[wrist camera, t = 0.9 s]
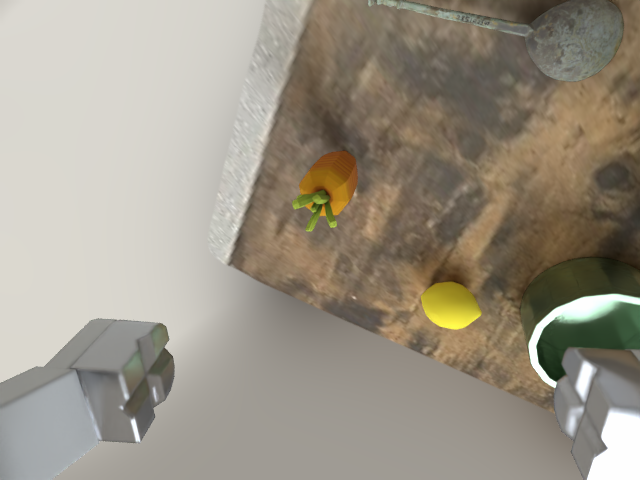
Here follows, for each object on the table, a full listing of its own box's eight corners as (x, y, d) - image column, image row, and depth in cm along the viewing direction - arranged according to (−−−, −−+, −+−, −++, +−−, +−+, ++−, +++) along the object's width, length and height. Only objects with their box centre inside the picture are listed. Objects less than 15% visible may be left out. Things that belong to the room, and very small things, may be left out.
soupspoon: (595, 87, 41) (633, 8, 38) (608, 93, 38) (650, 7, 35) (362, 31, 43) (380, -48, 40) (358, 33, 40) (377, -54, 37)
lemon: (415, 300, 56) (412, 327, 51) (429, 265, 53) (427, 291, 48) (471, 317, 55) (473, 347, 50) (488, 283, 52) (491, 311, 48)
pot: (579, 234, 47) (598, 269, 41) (688, 299, 47) (722, 343, 41) (495, 316, 54) (500, 356, 48) (590, 372, 54) (607, 419, 49)
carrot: (377, 166, 49) (351, 226, 36) (339, 185, 51) (302, 249, 38) (354, 126, 47) (319, 174, 35) (316, 148, 50) (270, 201, 37)
